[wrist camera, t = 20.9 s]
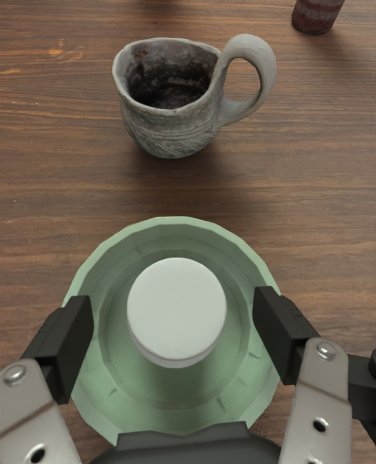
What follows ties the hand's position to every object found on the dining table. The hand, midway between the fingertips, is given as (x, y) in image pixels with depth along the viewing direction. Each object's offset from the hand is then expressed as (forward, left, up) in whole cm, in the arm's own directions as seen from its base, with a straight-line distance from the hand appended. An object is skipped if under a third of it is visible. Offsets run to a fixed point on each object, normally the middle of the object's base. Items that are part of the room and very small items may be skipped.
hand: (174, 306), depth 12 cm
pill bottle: (0, 0, -6) cm, 6 cm away
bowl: (0, 0, -7) cm, 7 cm away
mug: (+18, -2, -7) cm, 19 cm away
